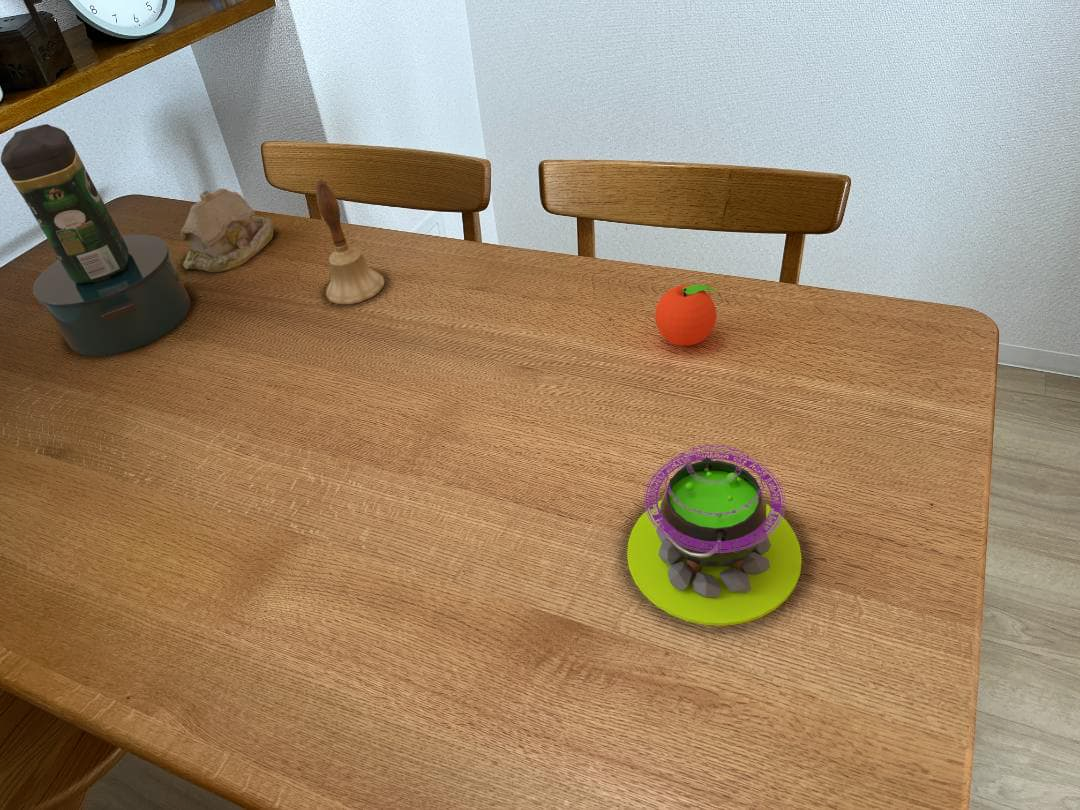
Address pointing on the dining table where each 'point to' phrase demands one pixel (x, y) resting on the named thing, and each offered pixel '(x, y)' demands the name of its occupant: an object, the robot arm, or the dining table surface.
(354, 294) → the hand bell
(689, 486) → the toy cauldron
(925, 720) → the dining table surface
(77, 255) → the coffee jar
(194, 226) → the ceramic model
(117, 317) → the teal round box
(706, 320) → the clementine
